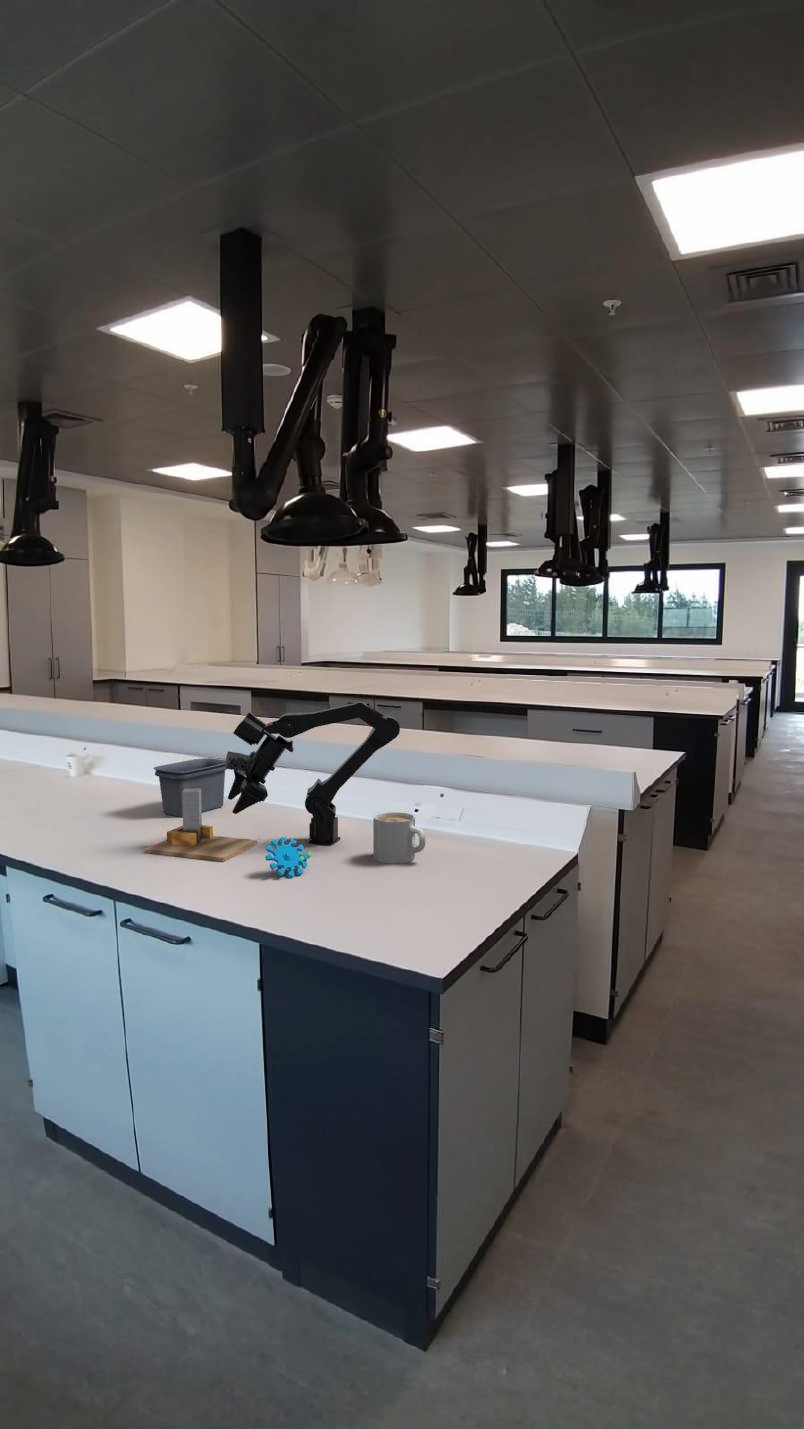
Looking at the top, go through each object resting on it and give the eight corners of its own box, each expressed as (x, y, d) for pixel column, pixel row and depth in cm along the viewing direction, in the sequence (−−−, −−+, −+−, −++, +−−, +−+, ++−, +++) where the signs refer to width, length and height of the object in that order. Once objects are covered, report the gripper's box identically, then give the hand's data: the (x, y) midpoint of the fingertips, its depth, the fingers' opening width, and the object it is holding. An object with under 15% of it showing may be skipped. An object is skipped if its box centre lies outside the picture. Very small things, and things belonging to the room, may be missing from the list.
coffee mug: (364, 857, 181) (364, 816, 180) (393, 849, 188) (393, 810, 187) (405, 869, 172) (405, 826, 171) (434, 860, 179) (434, 819, 178)
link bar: (202, 838, 193) (201, 788, 192) (199, 842, 189) (198, 791, 188) (186, 838, 193) (184, 788, 191) (183, 843, 189) (182, 792, 187)
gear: (271, 875, 162) (263, 835, 168) (262, 888, 166) (254, 849, 172) (318, 873, 168) (308, 835, 174) (308, 887, 172) (299, 848, 178)
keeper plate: (257, 844, 192) (257, 828, 191) (223, 861, 177) (223, 845, 176) (183, 836, 199) (182, 821, 198) (144, 852, 184) (144, 836, 183)
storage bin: (180, 821, 215) (179, 771, 213) (145, 813, 223) (143, 766, 222) (235, 807, 233) (234, 761, 231) (200, 800, 241) (199, 756, 240)
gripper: (235, 729, 196) (200, 777, 197) (245, 752, 179) (208, 805, 180) (270, 750, 201) (236, 797, 202) (283, 775, 184) (246, 826, 185)
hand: (231, 805), depth 192 cm, fingers open, 9 cm apart
